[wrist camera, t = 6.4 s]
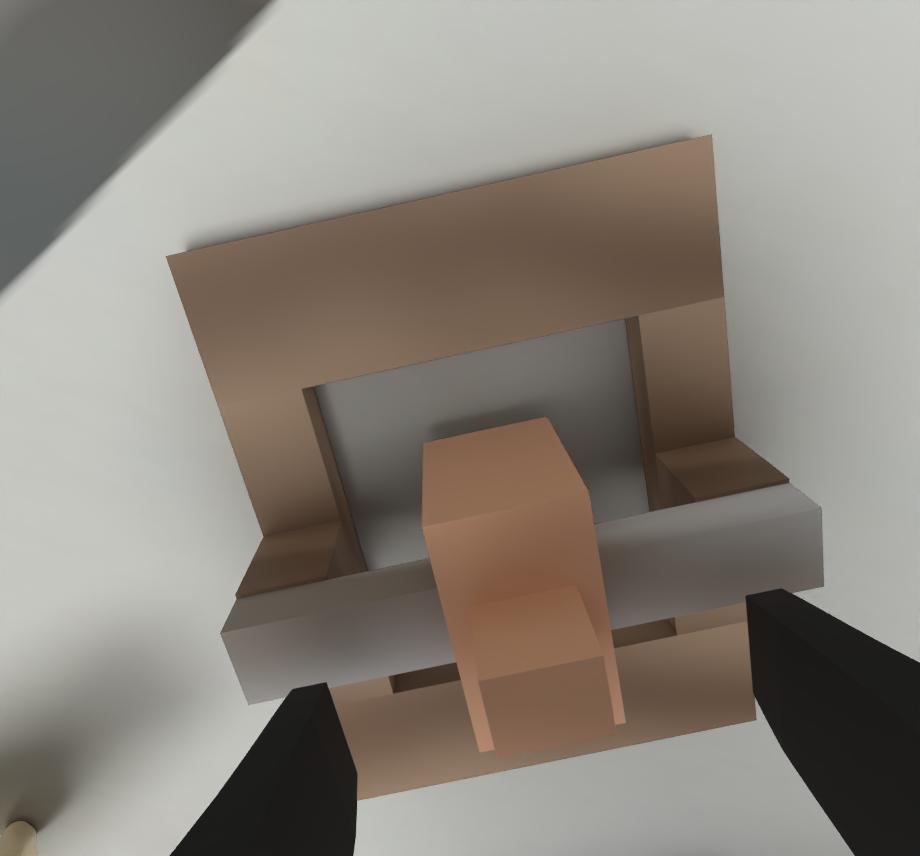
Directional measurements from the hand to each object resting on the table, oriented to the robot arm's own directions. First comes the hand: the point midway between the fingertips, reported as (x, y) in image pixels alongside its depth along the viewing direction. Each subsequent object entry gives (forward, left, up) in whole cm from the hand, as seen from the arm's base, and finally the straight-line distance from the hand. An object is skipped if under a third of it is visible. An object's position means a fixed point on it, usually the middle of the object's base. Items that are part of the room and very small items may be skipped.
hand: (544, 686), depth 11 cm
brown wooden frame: (0, 0, -7) cm, 7 cm away
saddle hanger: (0, 0, -6) cm, 6 cm away
